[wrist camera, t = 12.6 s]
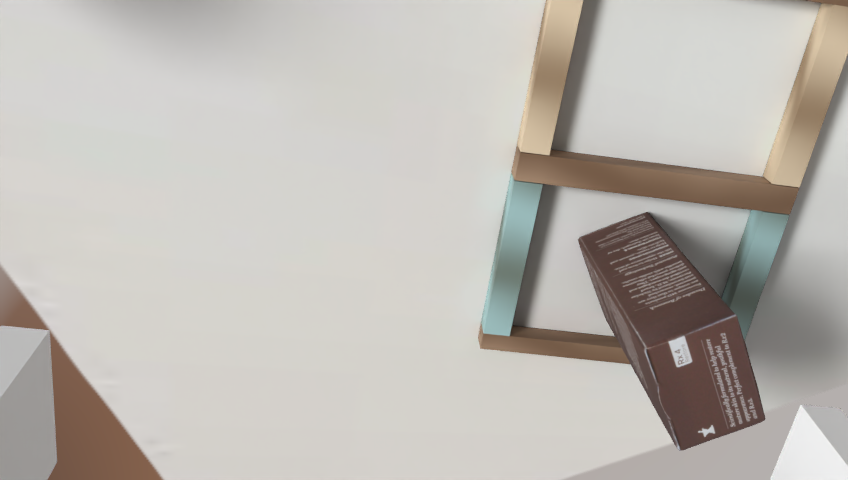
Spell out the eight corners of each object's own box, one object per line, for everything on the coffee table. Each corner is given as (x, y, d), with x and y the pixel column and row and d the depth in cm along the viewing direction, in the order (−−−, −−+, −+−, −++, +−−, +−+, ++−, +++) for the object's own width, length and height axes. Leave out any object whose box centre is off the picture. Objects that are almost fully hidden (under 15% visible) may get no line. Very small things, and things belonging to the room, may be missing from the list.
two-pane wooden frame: (558, -62, 38) (563, -60, 37) (858, -16, 39) (871, -13, 38) (478, 337, 47) (480, 348, 46) (724, 363, 48) (732, 374, 47)
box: (680, 293, 46) (770, 425, 35) (605, 320, 47) (671, 458, 36) (653, 203, 44) (741, 315, 33) (574, 232, 45) (635, 352, 34)
